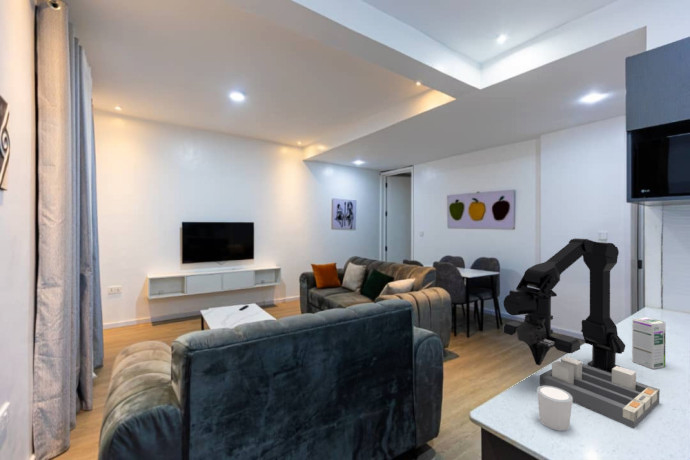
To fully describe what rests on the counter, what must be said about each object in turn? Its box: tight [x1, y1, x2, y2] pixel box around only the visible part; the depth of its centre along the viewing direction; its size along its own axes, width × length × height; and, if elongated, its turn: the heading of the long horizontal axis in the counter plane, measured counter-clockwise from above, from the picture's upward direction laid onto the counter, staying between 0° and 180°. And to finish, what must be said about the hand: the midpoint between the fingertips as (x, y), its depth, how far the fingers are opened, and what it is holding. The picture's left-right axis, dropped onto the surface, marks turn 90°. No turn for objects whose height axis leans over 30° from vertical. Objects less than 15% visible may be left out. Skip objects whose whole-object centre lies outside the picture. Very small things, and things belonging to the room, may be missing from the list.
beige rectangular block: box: [560, 356, 583, 379], centre depth 88 cm, size 3×4×5 cm
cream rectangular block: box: [551, 360, 574, 385], centre depth 85 cm, size 3×4×5 cm
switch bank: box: [539, 363, 661, 429], centre depth 83 cm, size 18×20×4 cm
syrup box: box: [631, 316, 666, 370], centre depth 100 cm, size 6×6×14 cm
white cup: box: [536, 385, 573, 432], centre depth 71 cm, size 7×7×7 cm
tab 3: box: [612, 365, 637, 391], centre depth 82 cm, size 3×4×5 cm
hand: (538, 364), depth 90 cm, fingers closed
